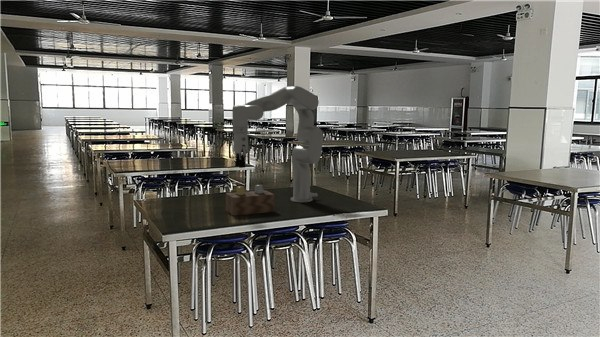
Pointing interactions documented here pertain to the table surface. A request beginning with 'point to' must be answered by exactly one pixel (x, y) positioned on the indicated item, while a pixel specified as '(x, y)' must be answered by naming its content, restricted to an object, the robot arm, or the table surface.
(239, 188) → the brass peg
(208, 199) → the table surface
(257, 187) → the steel peg
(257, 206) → the walnut block
